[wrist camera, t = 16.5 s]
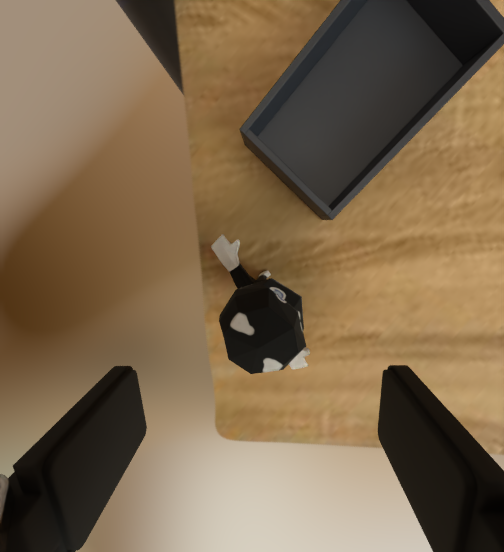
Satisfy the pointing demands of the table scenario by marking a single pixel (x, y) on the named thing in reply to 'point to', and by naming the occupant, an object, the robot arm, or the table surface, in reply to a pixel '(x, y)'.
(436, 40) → the dark grey open box
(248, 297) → the toy
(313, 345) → the table surface
